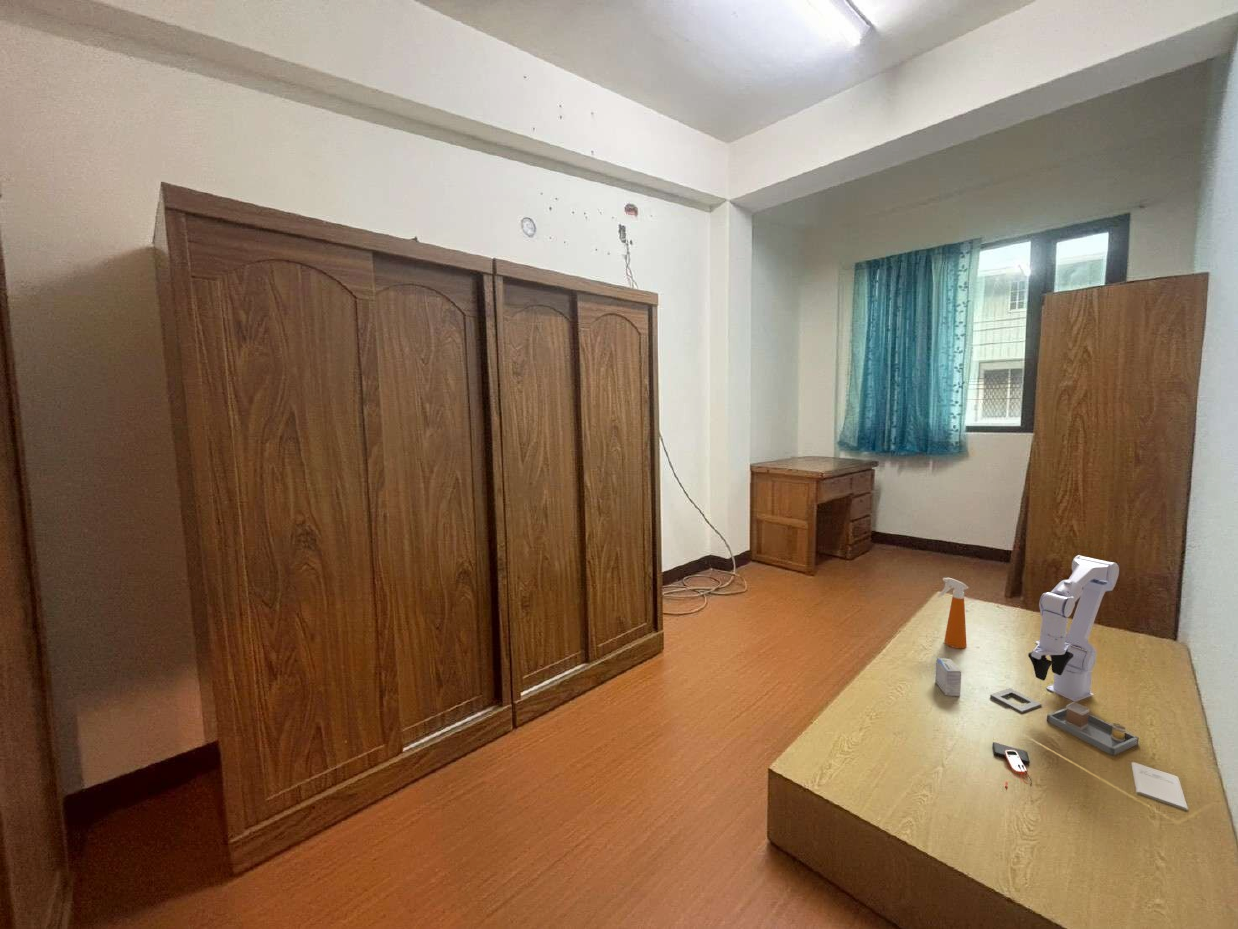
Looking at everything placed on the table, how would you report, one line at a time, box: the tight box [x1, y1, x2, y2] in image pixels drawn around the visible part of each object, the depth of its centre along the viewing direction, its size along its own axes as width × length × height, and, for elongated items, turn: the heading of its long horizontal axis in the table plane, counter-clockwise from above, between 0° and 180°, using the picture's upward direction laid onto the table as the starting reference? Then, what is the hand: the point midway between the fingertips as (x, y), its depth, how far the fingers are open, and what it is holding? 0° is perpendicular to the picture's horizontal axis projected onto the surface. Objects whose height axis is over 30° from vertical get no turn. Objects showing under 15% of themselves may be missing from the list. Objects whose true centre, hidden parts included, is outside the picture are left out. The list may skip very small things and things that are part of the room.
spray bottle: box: [936, 576, 970, 649], centre depth 189 cm, size 7×11×26 cm, turn 82°
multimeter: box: [992, 741, 1033, 790], centre depth 127 cm, size 18×12×3 cm, turn 143°
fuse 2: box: [1111, 722, 1127, 743], centre depth 137 cm, size 3×3×4 cm
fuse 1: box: [1065, 701, 1091, 731], centre depth 143 cm, size 4×4×6 cm
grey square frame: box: [989, 687, 1043, 714], centre depth 154 cm, size 9×9×1 cm
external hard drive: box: [1130, 761, 1189, 812], centre depth 121 cm, size 2×8×12 cm
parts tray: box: [1046, 707, 1139, 757], centre depth 140 cm, size 11×15×2 cm
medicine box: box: [934, 657, 962, 697], centre depth 162 cm, size 8×4×9 cm, turn 168°
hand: (1048, 676), depth 150 cm, fingers open, 7 cm apart
